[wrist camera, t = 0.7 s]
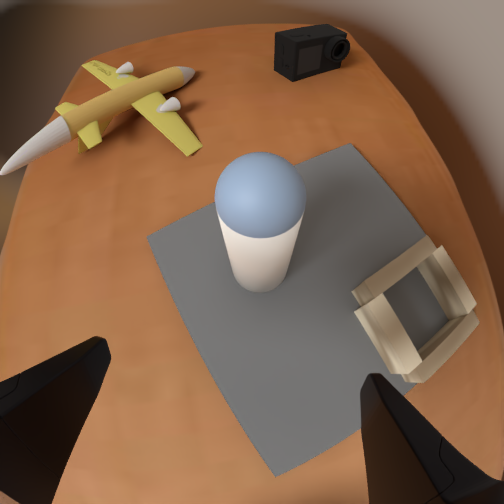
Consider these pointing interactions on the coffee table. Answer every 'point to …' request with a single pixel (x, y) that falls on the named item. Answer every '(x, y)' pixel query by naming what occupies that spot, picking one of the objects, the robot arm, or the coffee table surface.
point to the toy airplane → (113, 112)
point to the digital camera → (309, 51)
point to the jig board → (300, 309)
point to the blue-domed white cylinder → (260, 217)
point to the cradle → (390, 328)
